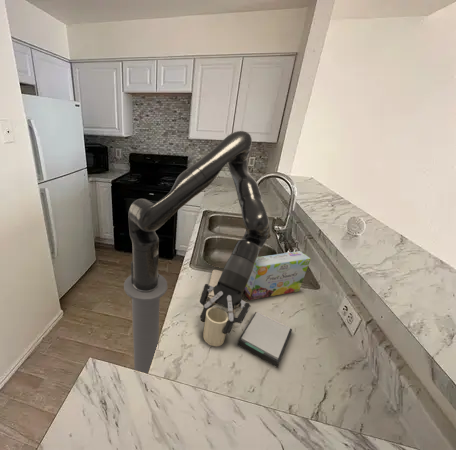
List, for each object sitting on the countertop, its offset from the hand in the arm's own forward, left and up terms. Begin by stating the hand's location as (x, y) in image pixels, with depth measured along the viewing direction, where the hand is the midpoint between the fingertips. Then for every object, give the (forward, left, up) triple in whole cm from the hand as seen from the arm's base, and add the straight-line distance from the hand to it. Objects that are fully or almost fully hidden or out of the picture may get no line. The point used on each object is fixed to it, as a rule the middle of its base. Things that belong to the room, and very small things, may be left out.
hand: (213, 327), depth 72 cm
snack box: (+7, +34, -6) cm, 35 cm away
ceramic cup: (0, +2, -6) cm, 6 cm away
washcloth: (-7, +24, -6) cm, 25 cm away
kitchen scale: (+12, +11, -6) cm, 17 cm away
